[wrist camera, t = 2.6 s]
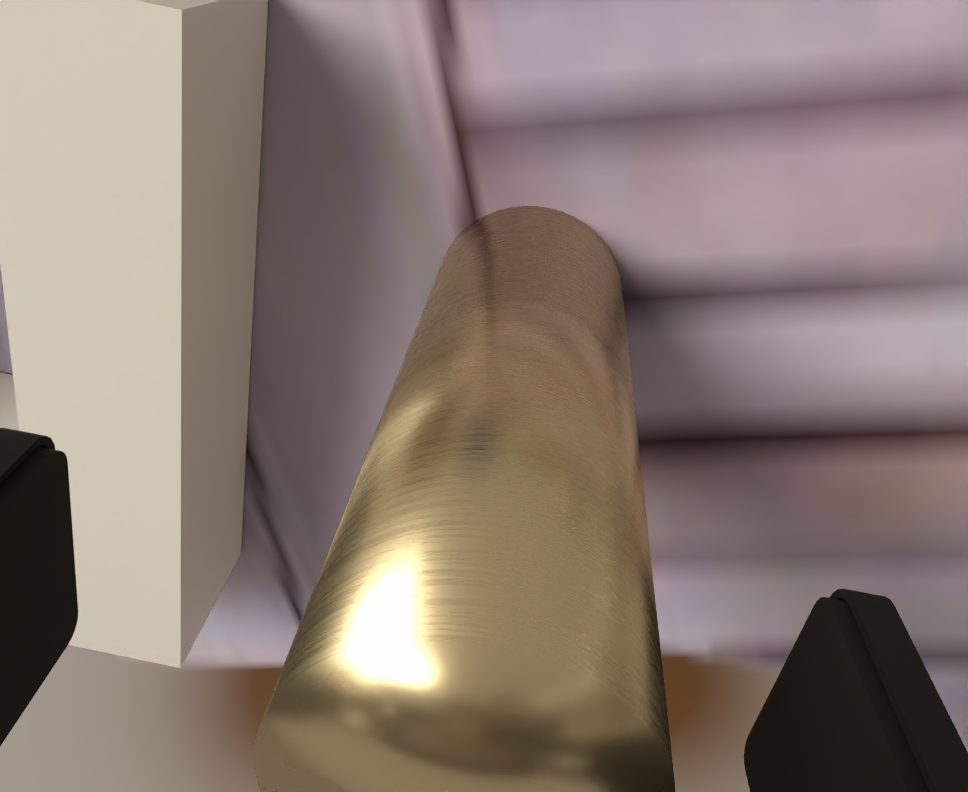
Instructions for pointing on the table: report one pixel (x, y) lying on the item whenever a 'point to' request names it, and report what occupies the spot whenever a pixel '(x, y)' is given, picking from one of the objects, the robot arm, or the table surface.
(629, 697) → the gold cylindrical peg
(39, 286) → the white square socket block
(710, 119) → the table surface
